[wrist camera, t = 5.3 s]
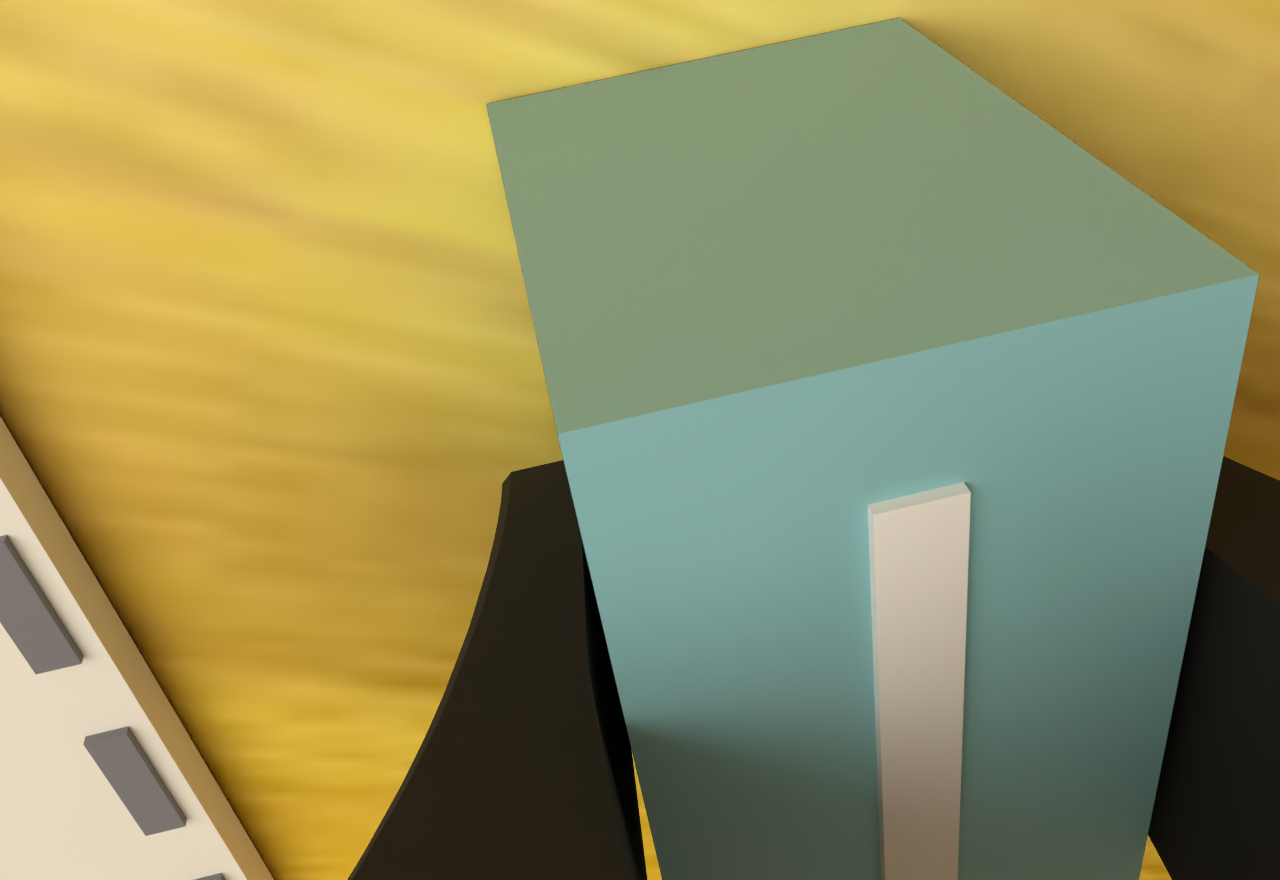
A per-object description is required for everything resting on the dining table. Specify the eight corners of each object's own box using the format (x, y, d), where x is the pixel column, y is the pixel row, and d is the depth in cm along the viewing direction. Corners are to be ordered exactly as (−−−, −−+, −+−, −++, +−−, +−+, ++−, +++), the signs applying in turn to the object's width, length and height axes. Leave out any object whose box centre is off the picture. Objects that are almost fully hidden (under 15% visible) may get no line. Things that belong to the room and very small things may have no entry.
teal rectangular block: (898, 17, 11) (1269, 281, 6) (905, 612, 15) (1120, 1010, 11) (486, 104, 10) (560, 445, 6) (619, 681, 15) (718, 1118, 11)
